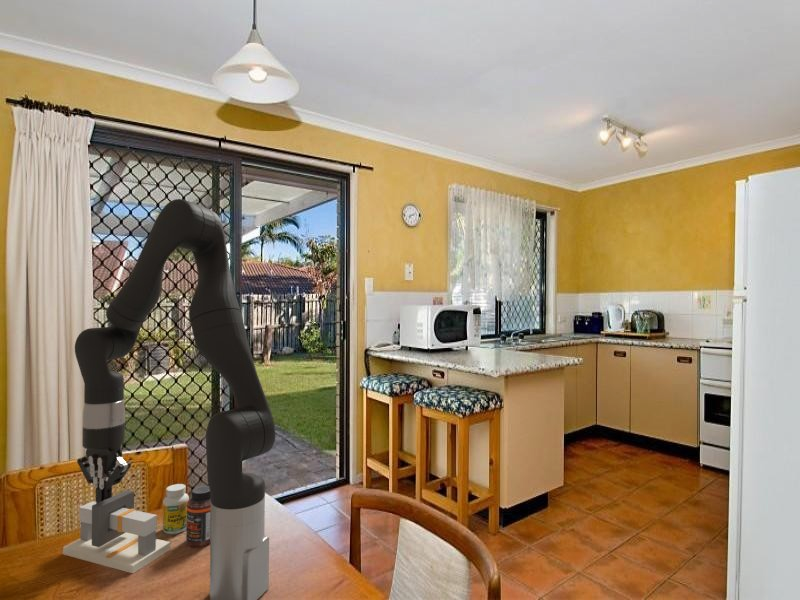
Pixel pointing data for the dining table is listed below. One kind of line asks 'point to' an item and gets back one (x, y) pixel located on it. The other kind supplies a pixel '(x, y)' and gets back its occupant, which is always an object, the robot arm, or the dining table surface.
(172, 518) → the supplement bottle
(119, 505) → the collar
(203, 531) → the supplement bottle
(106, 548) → the white bar stand
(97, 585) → the dining table surface
